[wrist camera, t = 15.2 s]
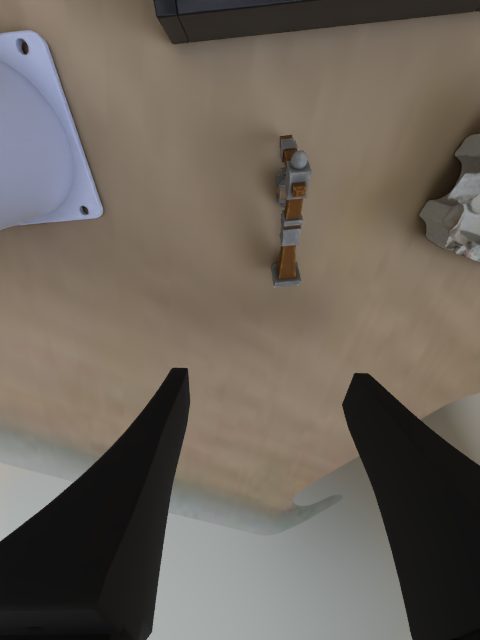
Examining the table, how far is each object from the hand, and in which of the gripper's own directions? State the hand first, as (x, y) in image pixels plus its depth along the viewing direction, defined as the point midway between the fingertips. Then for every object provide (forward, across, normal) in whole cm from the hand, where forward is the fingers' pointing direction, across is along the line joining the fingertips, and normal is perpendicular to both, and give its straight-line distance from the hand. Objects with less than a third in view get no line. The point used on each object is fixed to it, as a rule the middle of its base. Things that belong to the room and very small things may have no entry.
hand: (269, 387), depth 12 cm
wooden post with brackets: (+10, -1, -5) cm, 11 cm away
